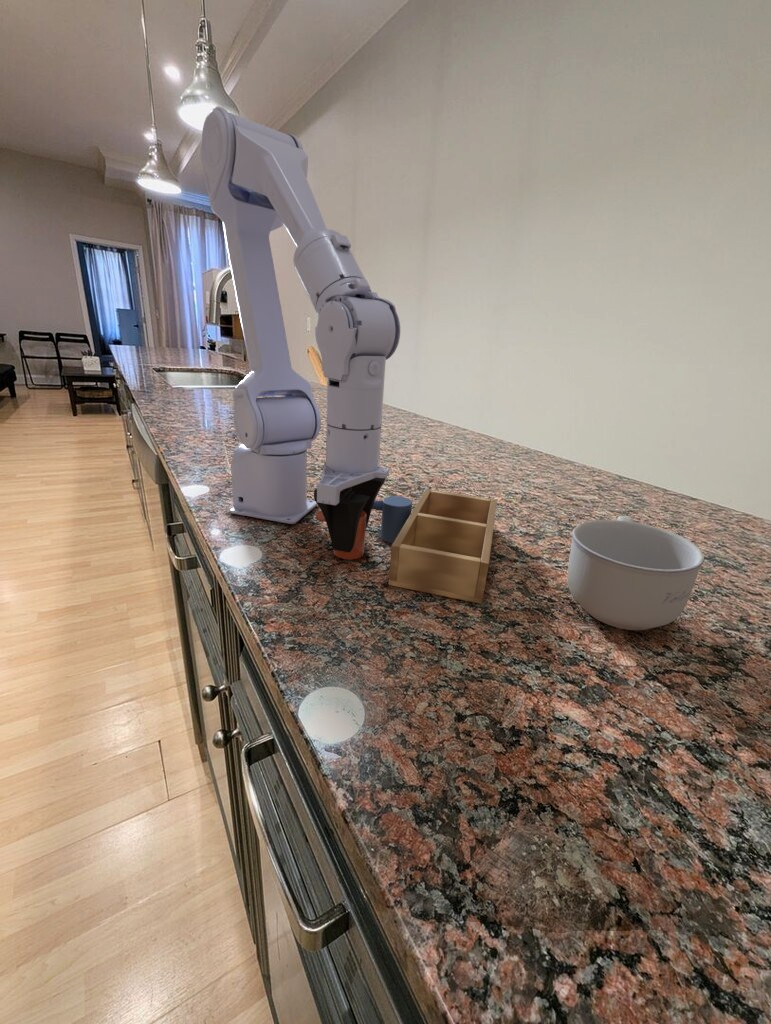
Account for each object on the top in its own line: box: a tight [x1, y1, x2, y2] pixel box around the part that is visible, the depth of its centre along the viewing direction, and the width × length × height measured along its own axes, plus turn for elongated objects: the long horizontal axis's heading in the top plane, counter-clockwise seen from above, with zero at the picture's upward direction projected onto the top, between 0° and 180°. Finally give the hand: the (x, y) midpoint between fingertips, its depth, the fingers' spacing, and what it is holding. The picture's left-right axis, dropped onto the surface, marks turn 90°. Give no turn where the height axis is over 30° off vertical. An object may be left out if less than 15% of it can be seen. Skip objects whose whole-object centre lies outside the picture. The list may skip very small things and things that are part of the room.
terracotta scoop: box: [314, 510, 367, 560], centre depth 52 cm, size 6×4×5 cm, turn 75°
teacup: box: [566, 515, 705, 631], centre depth 44 cm, size 14×11×8 cm
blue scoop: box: [372, 495, 413, 544], centre depth 56 cm, size 6×4×5 cm, turn 75°
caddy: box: [388, 488, 498, 605], centre depth 52 cm, size 10×18×5 cm, turn 165°
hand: (349, 541), depth 52 cm, fingers open, 4 cm apart
